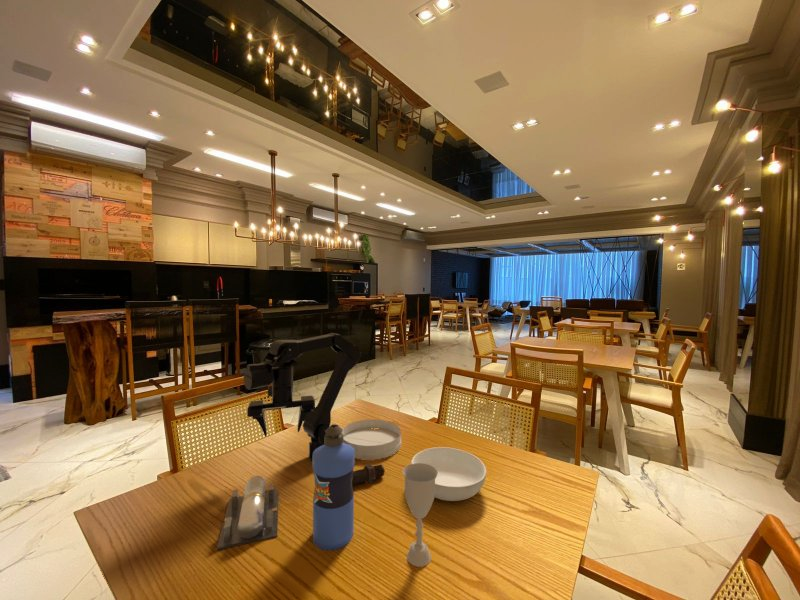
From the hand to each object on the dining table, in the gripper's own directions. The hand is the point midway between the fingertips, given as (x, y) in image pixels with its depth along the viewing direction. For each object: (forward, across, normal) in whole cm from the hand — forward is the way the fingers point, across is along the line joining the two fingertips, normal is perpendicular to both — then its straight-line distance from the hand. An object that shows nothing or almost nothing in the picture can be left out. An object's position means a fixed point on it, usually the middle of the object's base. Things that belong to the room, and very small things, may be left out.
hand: (282, 433), depth 97 cm
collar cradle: (+12, +7, +18) cm, 23 cm away
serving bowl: (+12, -44, +23) cm, 51 cm away
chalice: (+12, -27, +42) cm, 51 cm away
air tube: (+11, +7, +18) cm, 22 cm away
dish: (+12, -30, -9) cm, 34 cm away
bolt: (+12, -21, +13) cm, 28 cm away
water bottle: (+12, -11, +30) cm, 34 cm away
